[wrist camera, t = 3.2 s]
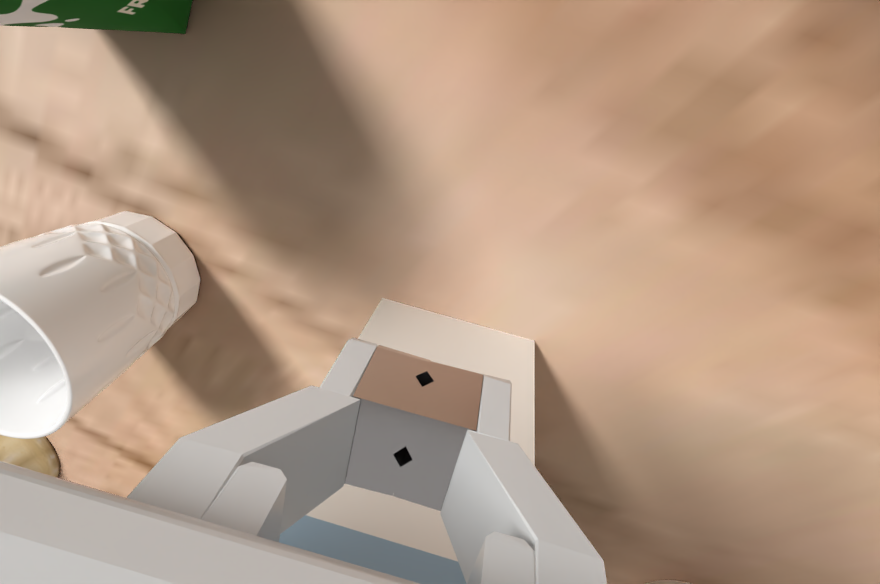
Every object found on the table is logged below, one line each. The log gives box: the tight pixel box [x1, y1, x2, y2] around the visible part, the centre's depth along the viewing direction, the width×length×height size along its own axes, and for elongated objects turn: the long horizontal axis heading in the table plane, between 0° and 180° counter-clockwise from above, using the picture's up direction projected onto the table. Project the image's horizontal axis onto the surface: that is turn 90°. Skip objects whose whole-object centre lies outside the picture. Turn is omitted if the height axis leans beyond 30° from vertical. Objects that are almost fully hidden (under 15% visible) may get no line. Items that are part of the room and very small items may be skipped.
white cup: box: [0, 211, 200, 439], centre depth 25 cm, size 8×8×10 cm
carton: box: [279, 298, 535, 584], centre depth 22 cm, size 9×9×18 cm
